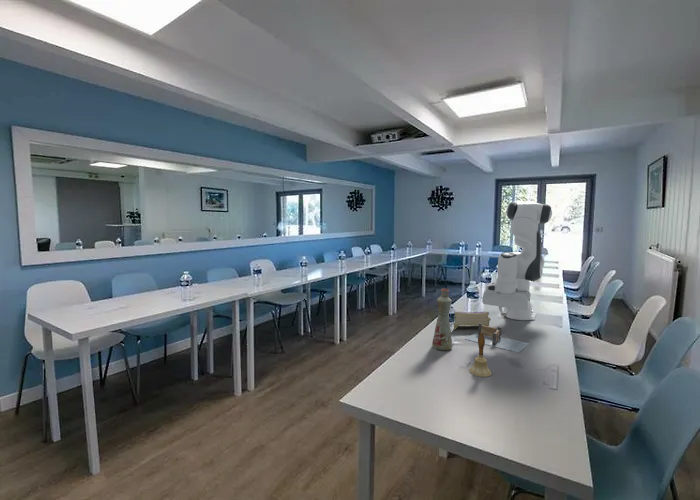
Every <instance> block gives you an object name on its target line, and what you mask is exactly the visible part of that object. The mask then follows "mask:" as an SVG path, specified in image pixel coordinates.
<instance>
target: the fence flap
mask: <svg viewBox="0 0 700 500" xmlns="http://www.w3.org/2000/svg"><path fill="white" fill-rule="evenodd" d="M498 340H499V330H497V329H496V332H495V333H493V338H492V344H493V345H496V342H497V341H498Z"/></svg>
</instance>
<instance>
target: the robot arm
mask: <svg viewBox="0 0 700 500" xmlns="http://www.w3.org/2000/svg"><path fill="white" fill-rule="evenodd" d="M552 216H553V211H552V207H551V205H549V204H546V203H540V202H534V201H518V200H517V201H516V200H515V201H511V202H510V203H508V206H507V207H506V217H507V218H508V219H509V220H511V221H512V222H511V228H510V230H511V233H512V235H513V236H514V239H513V240H514V244H515V245H516V246H517V247H519V248H521V250H522V251H521V252H520V251H519V252H516V251H513V252H512V251H511V252H507V251H506V252H502V253H501V254H500V255H499V257H498V259H497V267H496V272H497V277H496V282H495V281H494V282H489V283H487V284H486V285H485V290H484V291H483V293H482V294H483V295H482V298H481V299H482V300H481V302H482V304H483V305H489V306H495V307H498V310H499V312H500V316H501V317H506V318H508V319H511V320H515V321H516V320H517V321H535V320H536V318H537V317H536V316H537V313H536V312H534V311H533V304H532V302H531V292H530V290H531V289H530V288H531V283H530V282H532V283H533V282H537V281H538V280H540V279H541V278H542V275H543V269H544V266H545V258H544V256H543V254H542V253H543V251H542V250H543V249H542V245H543V244H542V235H541V232H540V231H538V230H539V224H540V225H542V224H544V225H545V224H547V223H549V221H550V220H551V218H552Z"/></svg>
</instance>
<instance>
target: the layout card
mask: <svg viewBox="0 0 700 500" xmlns="http://www.w3.org/2000/svg"><path fill="white" fill-rule="evenodd" d="M478 337H479V334H478V331H475V332H474V333H472V334H471V335H469V336H467V337H466V338H465V340H467V341H471V342H474V343H478ZM484 338H485V345H486V346H491V347H494V348H498V349H500V350H501V349H502V350H506V351H510V352H515V353H517V354H519V353H520V352H522V350H524V349H525V348H526V347H527V346H528V345H529V344H530V343H528V342H524V341H519V340H514V339H512V338H508V337H507V338H506V337H502V336H501V339H499V340H498V341H497V342H496V345H493V344H492V338H493V337H491V336H487V335H484Z"/></svg>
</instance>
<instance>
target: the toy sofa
mask: <svg viewBox="0 0 700 500" xmlns="http://www.w3.org/2000/svg"><path fill="white" fill-rule="evenodd" d="M454 312H455V323H454V330H453V331H455V330H456V329H457V328H458V327H459V326H479V323H481V324H482V325H484V326H488V327H490V321H491V320H492V319H491V317H489V316H490V315H489V314H490V312H489V311H474V312H471V311H469V312H464V311H454Z"/></svg>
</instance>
